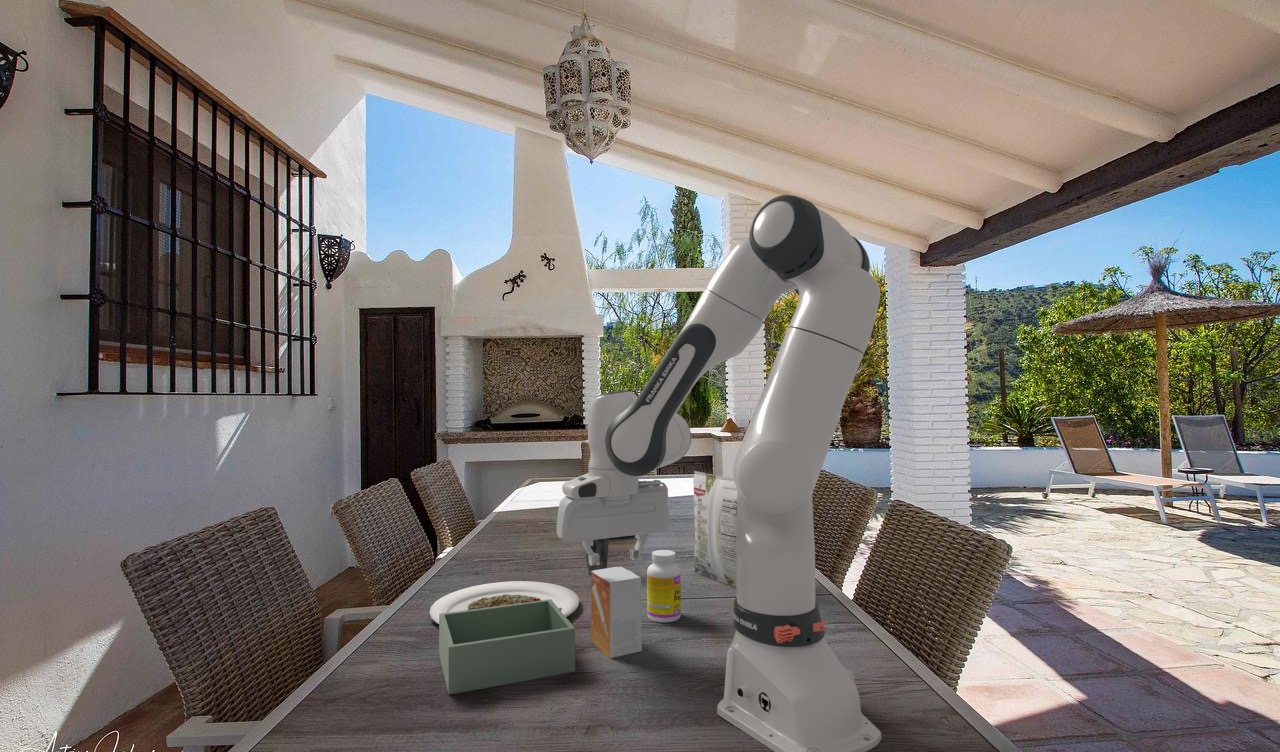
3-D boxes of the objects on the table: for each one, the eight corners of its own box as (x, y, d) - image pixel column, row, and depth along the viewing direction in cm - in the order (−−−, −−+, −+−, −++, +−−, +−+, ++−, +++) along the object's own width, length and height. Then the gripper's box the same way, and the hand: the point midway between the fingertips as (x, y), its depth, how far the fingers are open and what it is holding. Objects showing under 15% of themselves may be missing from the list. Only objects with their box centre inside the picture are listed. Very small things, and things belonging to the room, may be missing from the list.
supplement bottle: (678, 625, 125) (677, 557, 125) (644, 622, 126) (643, 556, 126) (682, 613, 131) (682, 549, 131) (650, 611, 132) (650, 547, 133)
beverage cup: (617, 570, 162) (617, 489, 163) (600, 577, 156) (600, 494, 156) (594, 565, 166) (593, 487, 166) (576, 572, 160) (576, 491, 160)
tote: (575, 672, 104) (575, 628, 104) (448, 694, 97) (448, 647, 97) (551, 637, 119) (550, 599, 119) (439, 654, 111) (439, 613, 111)
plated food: (459, 588, 150) (459, 573, 150) (588, 590, 148) (588, 575, 148) (404, 639, 120) (404, 621, 120) (566, 642, 118) (565, 623, 118)
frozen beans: (762, 592, 144) (761, 479, 145) (742, 596, 141) (741, 481, 142) (704, 570, 162) (703, 469, 162) (685, 573, 159) (684, 471, 159)
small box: (590, 643, 116) (589, 570, 116) (622, 636, 119) (621, 565, 119) (609, 660, 109) (609, 582, 109) (643, 652, 112) (642, 576, 112)
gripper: (660, 476, 121) (661, 551, 121) (553, 484, 113) (554, 564, 113) (674, 481, 115) (676, 559, 115) (563, 489, 108) (564, 573, 107)
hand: (615, 562), depth 114 cm, fingers open, 6 cm apart
